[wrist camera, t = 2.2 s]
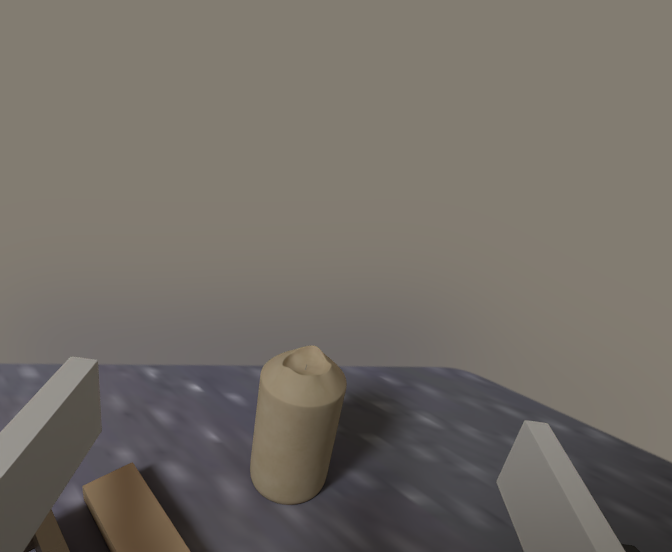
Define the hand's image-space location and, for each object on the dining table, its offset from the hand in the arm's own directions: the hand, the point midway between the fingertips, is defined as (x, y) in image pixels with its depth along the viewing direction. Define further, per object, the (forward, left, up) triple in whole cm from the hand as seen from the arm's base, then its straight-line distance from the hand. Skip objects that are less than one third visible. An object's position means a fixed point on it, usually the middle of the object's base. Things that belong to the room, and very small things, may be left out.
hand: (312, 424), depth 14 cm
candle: (-9, -9, -17) cm, 21 cm away
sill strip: (+1, -9, -16) cm, 19 cm away
